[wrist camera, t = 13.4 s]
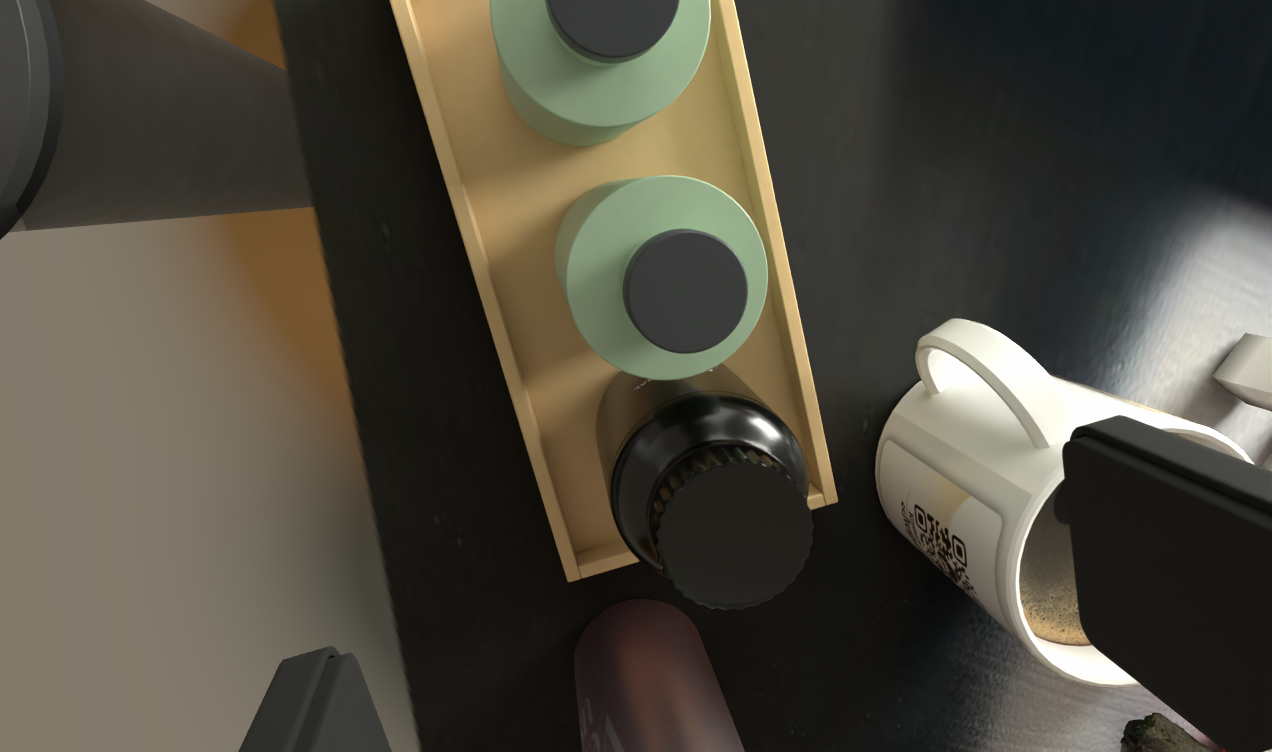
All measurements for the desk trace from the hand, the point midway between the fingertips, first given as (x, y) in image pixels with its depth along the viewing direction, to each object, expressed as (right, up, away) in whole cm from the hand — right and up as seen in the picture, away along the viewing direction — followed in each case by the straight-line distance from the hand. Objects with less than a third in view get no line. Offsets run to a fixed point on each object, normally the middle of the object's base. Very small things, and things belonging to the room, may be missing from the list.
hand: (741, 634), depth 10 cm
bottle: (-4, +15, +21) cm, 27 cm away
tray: (-2, +8, +24) cm, 25 cm away
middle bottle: (-2, +8, +23) cm, 25 cm away
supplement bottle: (0, +1, +25) cm, 25 cm away
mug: (+14, +1, +28) cm, 31 cm away
